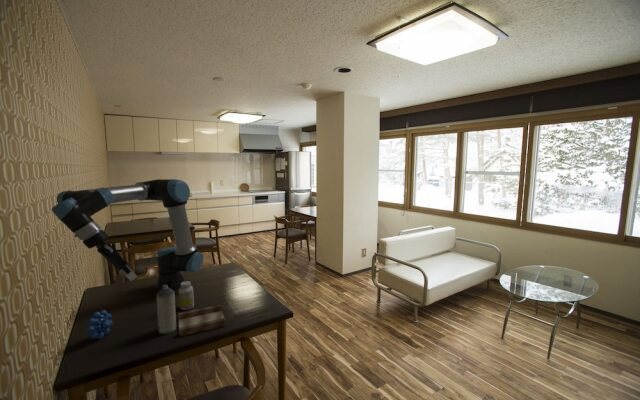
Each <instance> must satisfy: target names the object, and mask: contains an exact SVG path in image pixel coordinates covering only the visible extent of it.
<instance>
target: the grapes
mask: <svg viewBox="0 0 640 400" xmlns="http://www.w3.org/2000/svg"><path fill="white" fill-rule="evenodd" d="M112 317H113V315H112V314H111V313H110V312H109V313H108V311H107V310H105V309H101V310H100V311H95V312H94V313H93V314H92V317H90V318H89V319H88V320H87V325H88V327H86V330H85V331H86V333H87V334H89V338H90V339H91V340H94V339H99V340H101V339H103V338H104V337H105V335H108V334H109V333H110V332H111V329H110V327H111V326H112V325H113V324H114V322H113V320H112Z"/></svg>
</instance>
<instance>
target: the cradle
mask: <svg viewBox="0 0 640 400" xmlns="http://www.w3.org/2000/svg"><path fill="white" fill-rule="evenodd" d="M177 314H178V316H177V317H178V337H183V336H188V335H192V334H197V333H201V332H205V331H210V330H213V329H218V328H222V327H227V323H228V322H227V318H226V317H225V316H224V313H223V307H222V304H218V305H212V306H208V307H202V308H196V309H190V310H185V311H183V312H178V313H177Z"/></svg>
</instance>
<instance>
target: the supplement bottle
mask: <svg viewBox="0 0 640 400" xmlns="http://www.w3.org/2000/svg"><path fill="white" fill-rule="evenodd" d="M178 289H179V290H178V298H179V302H178V303H179V309H180V310H181V311H190V310H192V309H193V308H194V306H195V297H194V294H195V293H194V287H193V286H192V283H191V281H188V280H186V281H184V282H182V283H181V287H180V288H178Z"/></svg>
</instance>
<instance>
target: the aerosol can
mask: <svg viewBox="0 0 640 400" xmlns="http://www.w3.org/2000/svg"><path fill="white" fill-rule="evenodd" d="M175 297H176V295H175V289H174V290H172V289H170V288H168V286H167V285H163V288H162V289H161V290H160V291H159V290H158V292H157V293H156V311H157V314H156V315H157V326H158V327H157V328H158V334H160V335H168V334H172V333H174V332H176V330H177V315H176V298H175Z"/></svg>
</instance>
